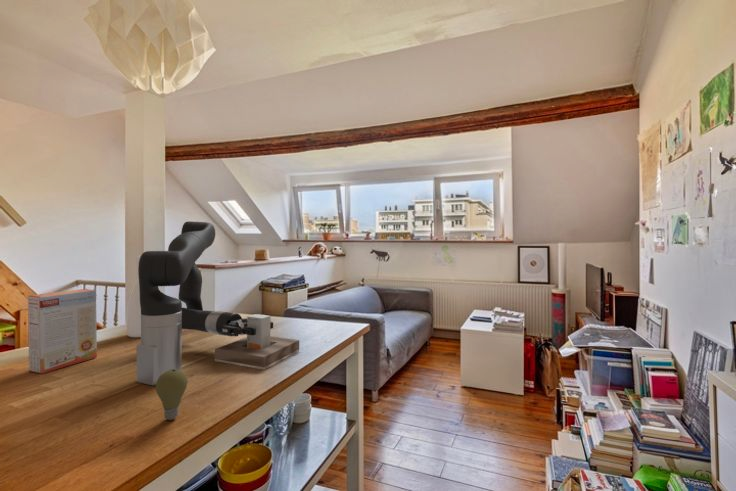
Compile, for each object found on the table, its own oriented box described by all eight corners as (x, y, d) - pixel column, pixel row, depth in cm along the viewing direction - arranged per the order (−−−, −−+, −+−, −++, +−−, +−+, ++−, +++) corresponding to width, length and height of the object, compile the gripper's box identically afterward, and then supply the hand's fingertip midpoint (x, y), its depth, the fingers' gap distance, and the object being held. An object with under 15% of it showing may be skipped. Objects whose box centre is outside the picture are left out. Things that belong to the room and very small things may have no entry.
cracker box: (84, 355, 106) (84, 288, 106) (97, 358, 104) (97, 289, 104) (26, 371, 93) (26, 294, 93) (40, 374, 91) (40, 296, 91)
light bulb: (192, 412, 72) (192, 365, 72) (178, 426, 67) (178, 375, 67) (165, 412, 72) (165, 365, 72) (149, 426, 67) (149, 375, 66)
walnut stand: (264, 369, 96) (264, 357, 96) (214, 360, 103) (214, 348, 103) (299, 350, 113) (299, 340, 113) (254, 344, 120) (255, 334, 120)
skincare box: (246, 354, 107) (246, 316, 107) (256, 350, 111) (256, 313, 111) (261, 357, 105) (261, 318, 105) (270, 353, 109) (271, 315, 109)
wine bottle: (120, 337, 126) (120, 256, 125) (138, 331, 135) (138, 254, 135) (145, 338, 125) (146, 256, 125) (162, 331, 135) (162, 255, 134)
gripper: (206, 316, 106) (248, 321, 101) (239, 308, 120) (278, 312, 114) (206, 340, 107) (248, 346, 101) (239, 329, 120) (277, 334, 114)
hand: (264, 328), depth 107 cm, fingers open, 8 cm apart
